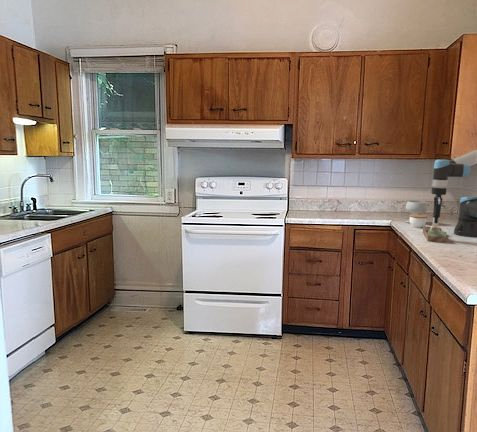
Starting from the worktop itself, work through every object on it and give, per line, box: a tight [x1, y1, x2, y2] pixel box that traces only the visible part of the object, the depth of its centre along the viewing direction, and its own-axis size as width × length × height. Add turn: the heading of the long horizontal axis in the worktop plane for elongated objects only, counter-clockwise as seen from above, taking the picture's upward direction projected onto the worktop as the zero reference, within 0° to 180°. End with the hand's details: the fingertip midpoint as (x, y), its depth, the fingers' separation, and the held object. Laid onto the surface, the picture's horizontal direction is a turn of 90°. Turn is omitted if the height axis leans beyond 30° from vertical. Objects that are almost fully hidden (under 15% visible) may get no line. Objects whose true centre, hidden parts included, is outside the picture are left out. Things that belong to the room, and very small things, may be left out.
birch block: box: [430, 225, 441, 231], centre depth 238 cm, size 4×4×4 cm
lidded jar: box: [409, 213, 428, 229], centre depth 279 cm, size 11×11×9 cm
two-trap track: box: [422, 224, 447, 243], centre depth 246 cm, size 9×27×6 cm, turn 162°
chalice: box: [405, 200, 428, 224], centre depth 296 cm, size 14×14×15 cm
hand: (435, 228), depth 241 cm, fingers closed
